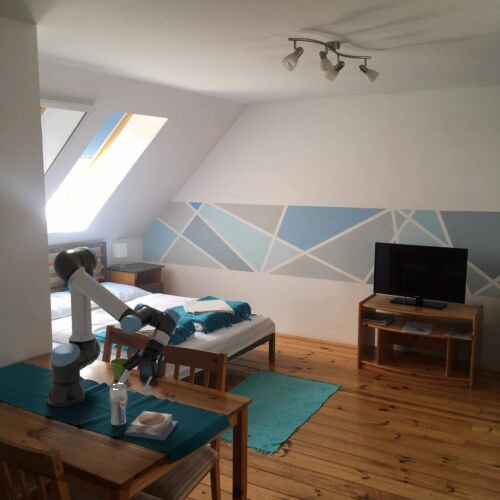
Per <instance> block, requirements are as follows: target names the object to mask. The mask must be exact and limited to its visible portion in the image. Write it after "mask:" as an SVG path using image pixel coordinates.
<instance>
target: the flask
mask: <svg viewBox="0 0 500 500" xmlns="http://www.w3.org/2000/svg"><path fill="white" fill-rule="evenodd" d="M156 364H157V365H156V368H157V366H158V361H156ZM150 376H151V377H152V370H151V364H149V363H145V362H144V363H141V364H140V365H139V380H143V381H148V380H149V378H150ZM157 381H158V379H157V380H156V381H155V382H157Z"/></svg>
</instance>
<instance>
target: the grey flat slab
mask: <svg viewBox="0 0 500 500" xmlns="http://www.w3.org/2000/svg"><path fill="white" fill-rule="evenodd" d="M178 423H179V421H177V420H172V422H171V424H170V425H169V426H168V427H167V428H166V430H165V431H164V432H163V433H162V434H161V435H160V436H159V435H152V434H145V433H137V432H131V425H130V426H129V427H128V428H127V429H125V431H124V436H129V437H135V438H136V437H138V438H141V439H142V438H143V439H148V440H149V439H150V440H158V441H162V442H163V441H165V440H166V439H167V438H168V437H169V436H170V434H171V433H172V432H173V431H174V429H176V427H177V426H178Z"/></svg>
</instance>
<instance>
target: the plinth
mask: <svg viewBox="0 0 500 500" xmlns="http://www.w3.org/2000/svg"><path fill="white" fill-rule="evenodd" d="M172 421H173V414H170V413H161V412H155V411H147V410H143V411H142V412H141V413H140V414H139V415H138V416H137V417H136V418H135V419H134V420H133V421H132V422H131V423H130V426H131V432H137V433H145V434H152V435H159V436H160V435H161V434H162V433H163V432H164V431H165V430H166V428H167V427H168V426H169V425H170V424H171V422H172Z"/></svg>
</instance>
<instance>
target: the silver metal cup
mask: <svg viewBox="0 0 500 500" xmlns="http://www.w3.org/2000/svg"><path fill="white" fill-rule="evenodd" d="M108 400H109V406H110V407H109V408H110V412H111V417H110V425H112V426H118V427H120V426H123V425H125V424H126V423H127V418H126V409H127V402H128V386H127V384H126V383H124V384H123V383H118V382H117V383H112V384H110V386H109V395H108Z"/></svg>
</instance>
